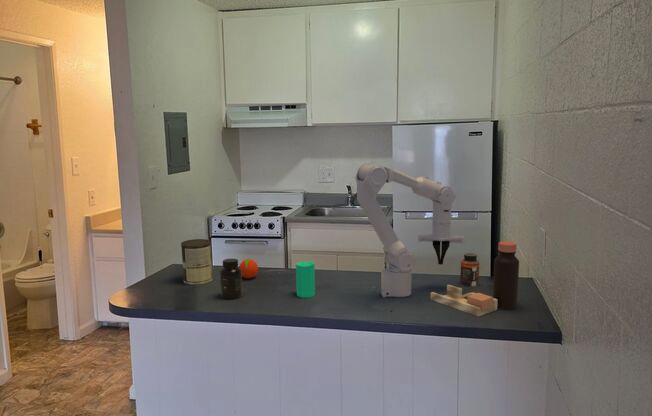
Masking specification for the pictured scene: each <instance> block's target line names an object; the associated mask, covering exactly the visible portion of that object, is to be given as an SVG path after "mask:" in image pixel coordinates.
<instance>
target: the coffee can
mask: <svg viewBox="0 0 652 416" xmlns="http://www.w3.org/2000/svg"><path fill="white" fill-rule="evenodd" d="M211 242H212V241H211V240H210V239H206V238H193V239H187V240H184V241H181V242H180V246H181V258H182V260H181V262H182V273H183V274H182V275H183V283H184V284H186V285H203V284H207V283H209V282H212V281H213V267H212V250H211V249H212V248H211Z"/></svg>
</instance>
